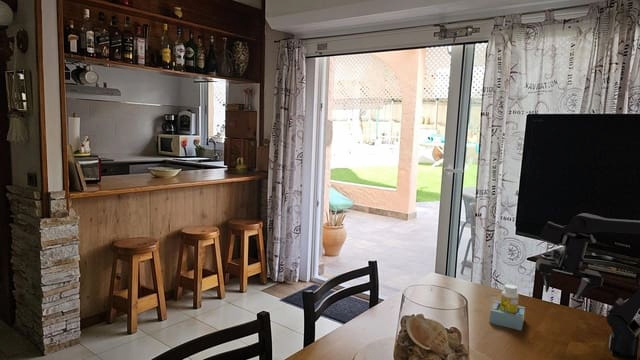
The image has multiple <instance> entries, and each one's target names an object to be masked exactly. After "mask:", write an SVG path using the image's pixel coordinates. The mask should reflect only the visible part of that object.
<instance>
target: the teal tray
mask: <svg viewBox="0 0 640 360" xmlns="http://www.w3.org/2000/svg"><path fill="white" fill-rule="evenodd" d="M500 306H501V301H499V300H494V301H493V303H492V307H491V309H490V314H489V323H490V324H493V325H495V326H496V325H497V326H499V327H504V328H505V327H506V328H509V329H513V330H517V331H523V326H524V321H525V312H526V307H525V306H521V305H518V308H517V315H516V314H512V313H508V312H503V311H500Z"/></svg>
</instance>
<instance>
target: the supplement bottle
mask: <svg viewBox="0 0 640 360" xmlns="http://www.w3.org/2000/svg"><path fill="white" fill-rule="evenodd" d="M503 289H504V290H502V291H501V296H500V302H501V306H500V311H503V312H508V313H512V314H516V315H517V308H518V306H519V305H518V304H519V297H520V296H519V294H518V292H517V291H518V287H517V285H514V284H504V287H503Z"/></svg>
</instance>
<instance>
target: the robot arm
mask: <svg viewBox="0 0 640 360" xmlns="http://www.w3.org/2000/svg"><path fill="white" fill-rule="evenodd" d="M600 232H604V233H605V232H607V233H617V234H618V233H619V234H620V233H621V234H629V235H630V234H632V235H640V220H636V219H635V220H634V219H633V220H632V219H631V220H630V219H621V218H620V219H618V218H617V219H616V218H606V217H602V216H599V215H595V214H591V213H585V212H584V213H579V214H577V215H574V216H573V217H571V218H570V221H569V223H568V224H565V225H560V224H556V223H554V222H553V221H547V222H546V223H545V225H544V226H543V229H542V231H540V236H539V240H540V241H543V242H545V243H548V244H551V245H553V246H557V247H560V246H561V245H564V249H563V250H562V251H561V253H560V250H559V249H558V250H557V249H552V251H551V253H550V259H551V260H555V263H556V264H557V265H556V264H552V262H551V261H550V260H548V259H543V258H538V259H536V261H535V265H534V266H535V267H536V269H537V270H536V271H537V272H539V273H540V274H541V275H542V276H543V280H544V289H545V290H544V291H545V293H548V291H549V289H550V287H551V281H552V273H553V272H557V273H560V274H566V275H569V276H573V277H579V278H581V281H580V285H579V287H578V290H577V293H576V295H575V299H576V300H580V298H582V297H583V296H584V295H585V294H586V293H587V292H588V291H590V290H591V289H592V288H597V286H600V287H601V286H603V283H604V277H603V276H602V275H601V273H599V271H597V270H592V269H587V268H586V269H584V271H581V266H582V265H583V263H584V261H585V259H584V257H585V253H586V249H587V246H588V244H595V243H596V242H597V240H596V238H595V237H594V236H593V234H591V233H600ZM587 234H588V235H587ZM639 312H640V286H639V287H638V288H637V289H636V290H635V291H634V292H633V294H632V295H631V296H630V297H629V298H627V299H625V300H623V298H621V297H620V298H618V299H617V300H616V301H615V302H614V304H613V305H612V306H611V307H609V309H607V310H606V313H607V315H606V318H605V319H606V322H607V324H608V326H609V327H610V328H611V330H612V333H611V334H610V337H609V340H608V341H609V343H608V348H609V351H610V353H611V355H612V356H614V357H618V358H619V357H620V358H623V359H626V360H627V359H628V360H639V357H638V355H639V354H638V353H639V347H640V336H639V334H640V324H639V322H638V321H637V319H636V317H637V316H638V315H639Z"/></svg>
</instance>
